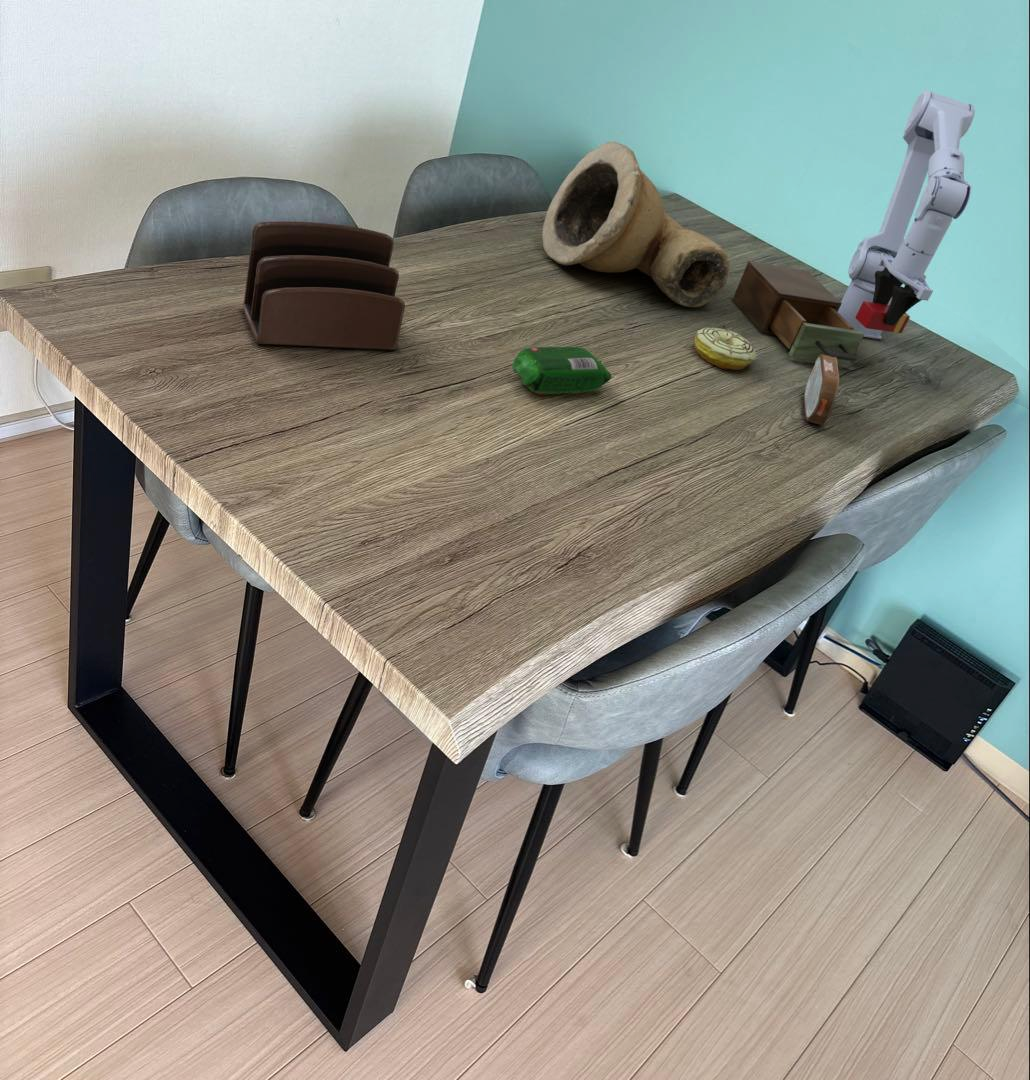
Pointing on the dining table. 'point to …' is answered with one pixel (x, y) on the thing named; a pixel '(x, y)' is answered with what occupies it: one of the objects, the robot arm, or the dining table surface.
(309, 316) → the letter holder
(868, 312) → the chocolate bar
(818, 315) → the drawer
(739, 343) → the decorated donut
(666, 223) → the pipe
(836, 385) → the tin
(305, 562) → the dining table surface
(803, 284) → the cabinet
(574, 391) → the snack package
